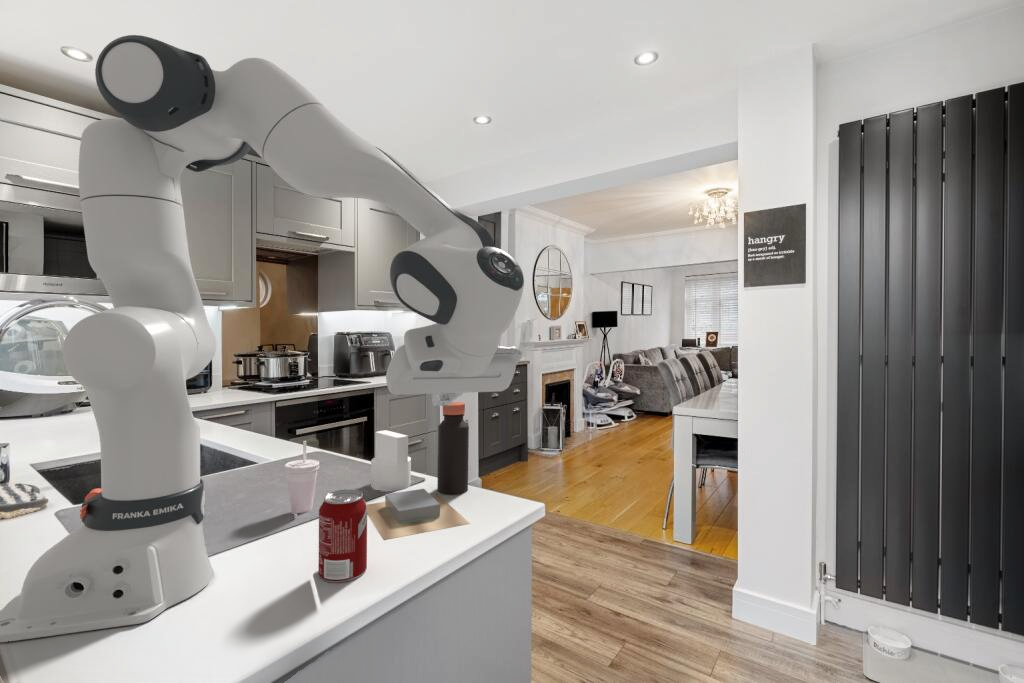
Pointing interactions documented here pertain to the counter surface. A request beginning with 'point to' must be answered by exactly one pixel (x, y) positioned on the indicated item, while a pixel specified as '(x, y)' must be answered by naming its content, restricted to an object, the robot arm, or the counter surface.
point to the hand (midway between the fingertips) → (440, 402)
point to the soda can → (342, 536)
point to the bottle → (453, 451)
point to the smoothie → (301, 482)
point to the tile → (412, 506)
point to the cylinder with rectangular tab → (390, 462)
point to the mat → (394, 530)
